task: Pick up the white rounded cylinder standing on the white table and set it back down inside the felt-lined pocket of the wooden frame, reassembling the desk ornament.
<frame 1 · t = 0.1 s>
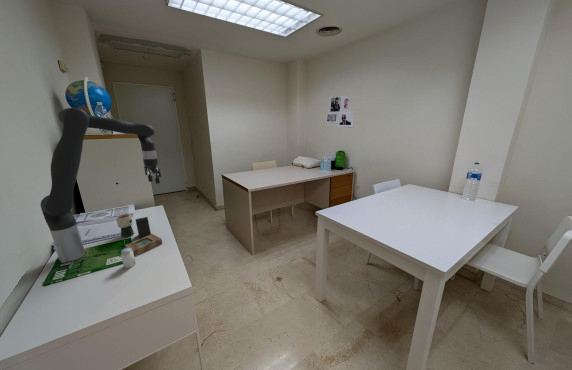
hand: (154, 182, 136), 29 cm above the table, fingers open, 8 cm apart
wooden frame: (144, 246, 117), on the table
white rounded cylinder: (129, 265, 101), on the table
phone stand: (145, 236, 128), on the table
character mug: (127, 235, 128), on the table
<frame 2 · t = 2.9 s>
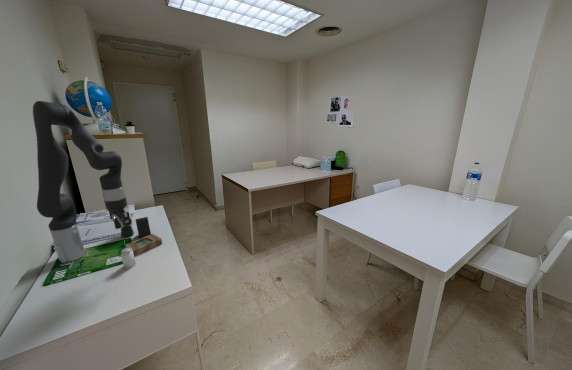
hand: (123, 230, 97), 18 cm above the table, fingers open, 8 cm apart
nothing on the table moved.
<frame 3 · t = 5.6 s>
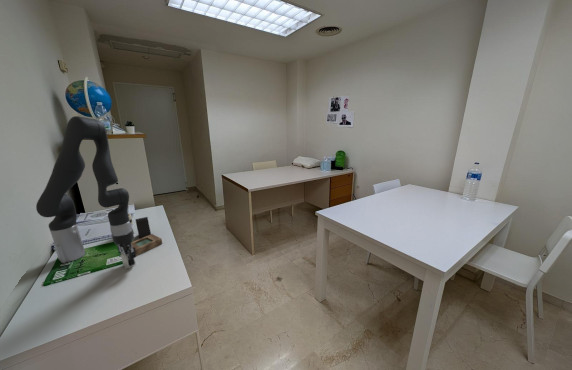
hand: (129, 262, 101), 1 cm above the table, fingers closed on white rounded cylinder, 4 cm apart
white rounded cylinder: (129, 265, 101), on the table, touching gripper
everything else where it was.
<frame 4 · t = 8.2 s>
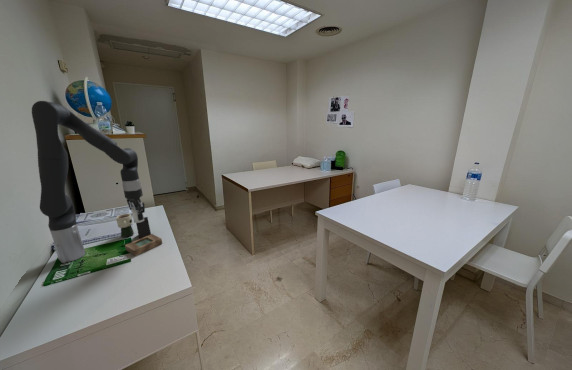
hand: (138, 218, 112), 17 cm above the table, fingers closed on white rounded cylinder, 4 cm apart
white rounded cylinder: (139, 220, 112), point 16 cm above the table, touching gripper
everything else where it was.
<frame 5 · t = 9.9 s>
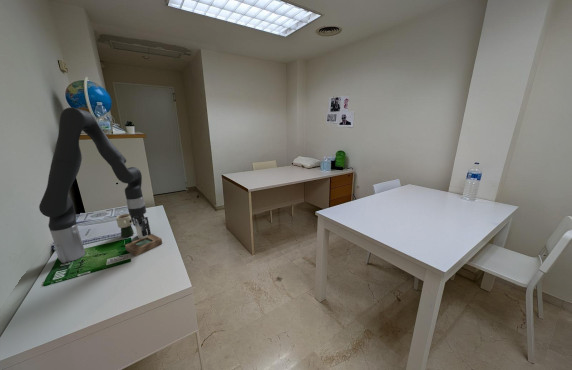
hand: (142, 234, 115), 8 cm above the table, fingers closed on white rounded cylinder, 4 cm apart
white rounded cylinder: (143, 236, 115), point 6 cm above the table, touching gripper
everything else where it was.
when the fingers open (5 cm above the table, at t = 11.3 s): white rounded cylinder drops 1 cm, resting on wooden frame.
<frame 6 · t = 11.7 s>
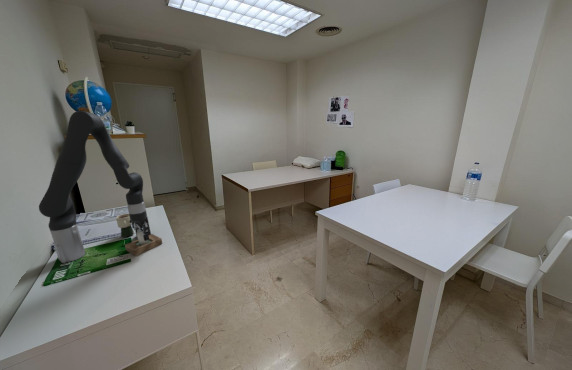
hand: (142, 238, 115), 6 cm above the table, fingers open, 8 cm apart
white rounded cylinder: (144, 243, 116), point 2 cm above the table, touching wooden frame
everything else where it was.
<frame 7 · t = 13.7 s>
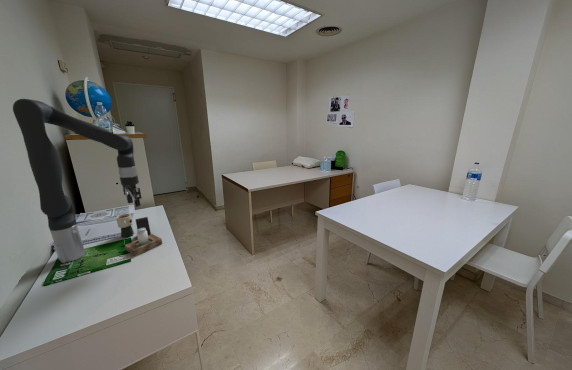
hand: (134, 204, 112), 24 cm above the table, fingers open, 8 cm apart
nothing on the table moved.
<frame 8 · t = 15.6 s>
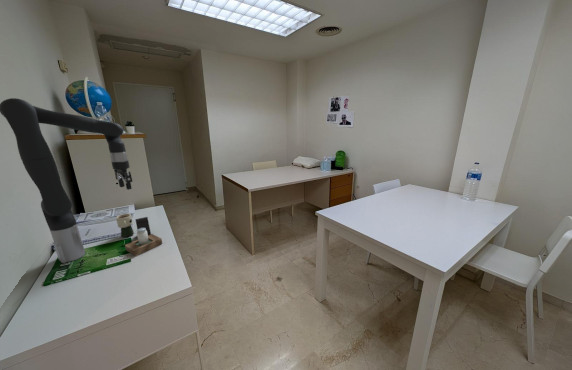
hand: (125, 188, 121), 30 cm above the table, fingers open, 8 cm apart
nothing on the table moved.
at the end: white rounded cylinder 0.1 cm off-centre on the wooden frame, point 2.2 cm above the wooden frame's base; white rounded cylinder tilted 1°; the gripper is holding nothing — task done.
